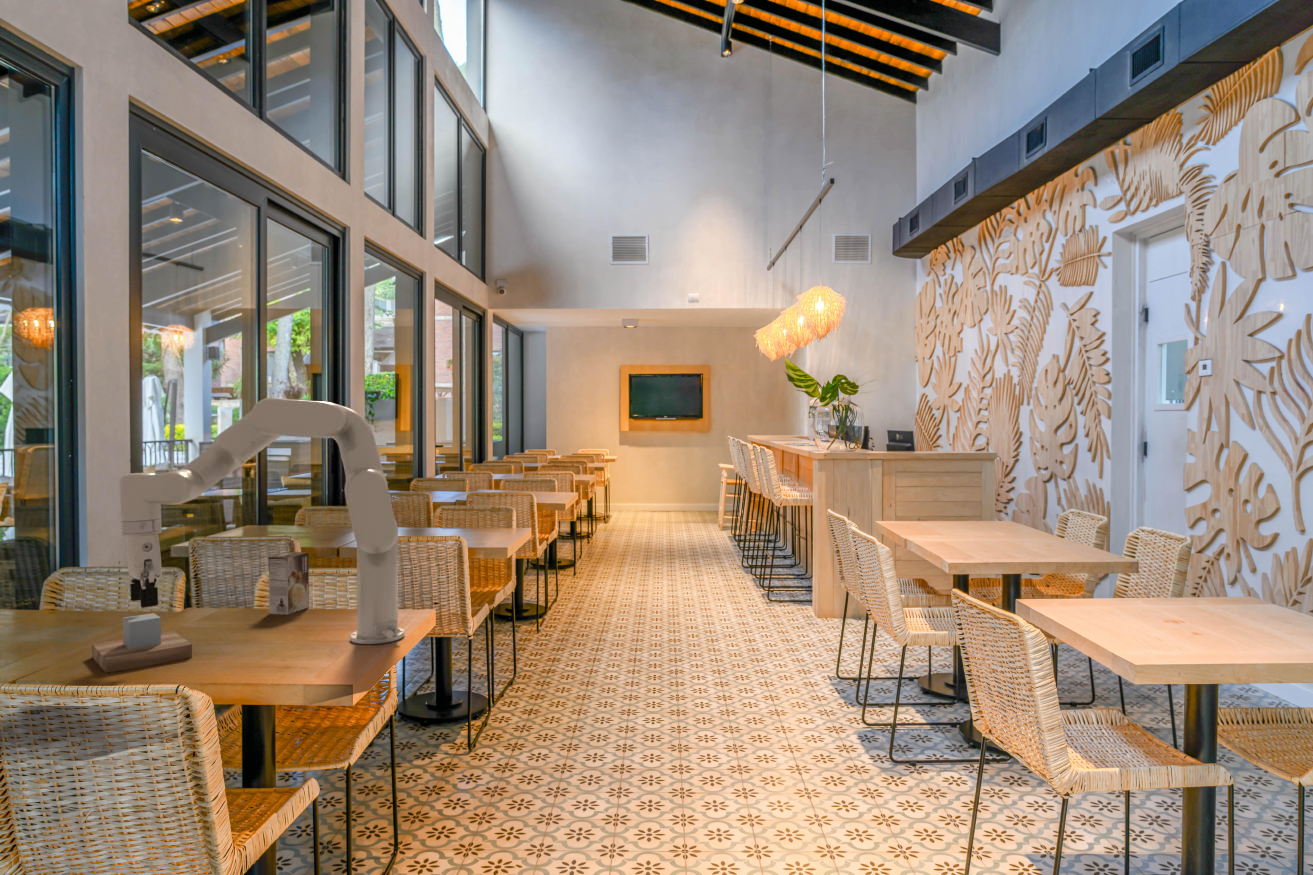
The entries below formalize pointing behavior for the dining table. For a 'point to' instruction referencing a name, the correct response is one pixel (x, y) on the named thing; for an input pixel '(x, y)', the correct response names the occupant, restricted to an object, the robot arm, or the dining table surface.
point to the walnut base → (140, 653)
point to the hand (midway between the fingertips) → (144, 603)
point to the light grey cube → (141, 631)
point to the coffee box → (288, 582)
